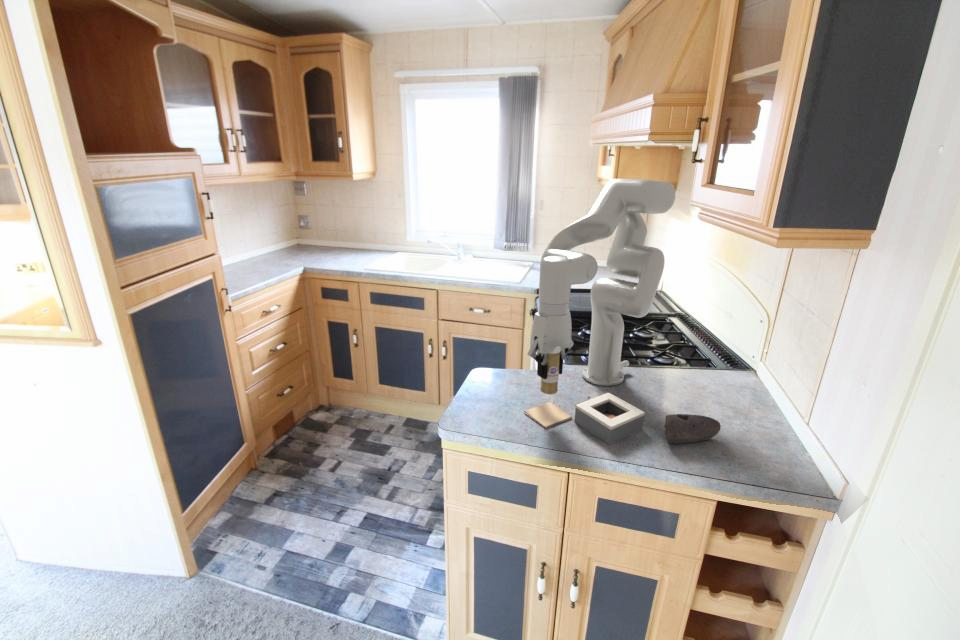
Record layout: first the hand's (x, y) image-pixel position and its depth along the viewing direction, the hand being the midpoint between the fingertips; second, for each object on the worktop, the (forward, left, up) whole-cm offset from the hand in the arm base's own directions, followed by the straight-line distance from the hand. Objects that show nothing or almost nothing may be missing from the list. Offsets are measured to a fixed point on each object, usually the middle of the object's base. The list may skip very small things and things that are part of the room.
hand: (549, 373), depth 118 cm
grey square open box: (-10, +12, -12) cm, 20 cm away
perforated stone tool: (-22, +27, -13) cm, 37 cm away
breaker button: (-10, +12, -12) cm, 20 cm away
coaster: (0, 0, -12) cm, 12 cm away
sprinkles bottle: (0, 0, -5) cm, 5 cm away
